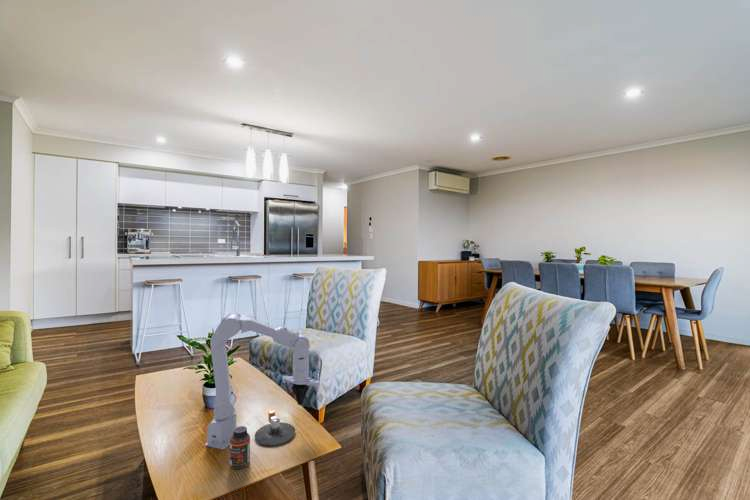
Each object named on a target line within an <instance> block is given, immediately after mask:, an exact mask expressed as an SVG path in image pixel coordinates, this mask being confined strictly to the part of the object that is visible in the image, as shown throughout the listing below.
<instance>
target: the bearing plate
mask: <svg viewBox="0 0 750 500" xmlns="http://www.w3.org/2000/svg"><path fill="white" fill-rule="evenodd" d="M295 435H296V429H295V427H294V426H293V425H292V424H291V423H288V422H280V432H279V433H277V434H272V433H271V423H268V424H265V425H262V426H261V427H260V428H258V429H257V430H256V431H255V433H254V440H255V443H257V444H258V445H260V446H263V447H276V446H277V447H278V446H281V445H284V444H287V443H288V442H290V441H291V440H293V438H294V437H295Z"/></svg>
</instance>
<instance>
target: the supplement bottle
mask: <svg viewBox="0 0 750 500" xmlns="http://www.w3.org/2000/svg"><path fill="white" fill-rule="evenodd" d="M250 461H251V435H250V433H248V427H247V426H244V425H239V426H236V428H235V429H234V431H233V436H232V437H231V439H230V445H229V466H230V468H231V469H233V470H241V469H245V468H246V467H247V466H249V464H250V463H251V462H250Z"/></svg>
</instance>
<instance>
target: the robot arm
mask: <svg viewBox="0 0 750 500" xmlns="http://www.w3.org/2000/svg"><path fill="white" fill-rule="evenodd" d="M240 331H241V332H240ZM248 332H253V333H257V334H260V335H263V336H267V337H270V338H272V340H273V342H274V343H275V344H279V345H281V346H284V347H287V348H288V349H289V348H290V349H291V348H292V349H293V356H292V375H291V376H290V375H285V376H283V377H282V379H281V381H282V382H281V383H282V384H286V383H287V384H293V385H292V386H291V390H292V391H293V394H294V395H295V398H296V399H295V400H296V401H297V402H296V403H297V405H298V406H302V405H303V404H305V400H306V399H305V398H306V394H307V392H308V391H309V388H310V387H314V388H316V389H318V388H319V387H320V386H321V385H320V384H321V383H320V382H321V381H320V380H317V379H314V378H312V377H309V374H310V370H309V369H310V364H309V363H310V360H309V359H310V355H309V351H310V350H309V349H310V347H311V344H310V341H309V338H308V336H307V335H306V334H304V332H303V333H302V332H298V331H296V332H295V331H293V330H290V329H288V327H287V326H279V327H272V326H270V325H269V324H267V323H263V322H261V321H259V320H257V319H254V318H252V317H249V316H247V315H244V314H240V313H237V312H231V313H229V314H227V315H226V316H225V317H223V319H222V320H221V321H220V323H219V324H218V325H217V328H215V330H214V333H213V334H212V336H211V338H210V341H209V343H210V353H211V354H210V355H211V362H212V369H213V377H214V384H215V385H214V386H215V404H214V408H213V418H212V421H211V422H209V423H208V425H207V427H206V428H207V429H206V442H205V444H204V445H205V447H206V446H207V447H210V448H214V449H220V450H226V449H227V448H228V447H230V439H231V437H232V436H233V431H234V429H235V428H237V410H236V409H235V405H236V404H235V403H236V401H237V395H236V393H235V392H234V391H233V386H232V385H231V377H230V368H229V359H228V352H227V344H226V343H228V341H229V340H230V339H231V338H232V337H234V336H237V335H238V333H241V334H243V333H248Z"/></svg>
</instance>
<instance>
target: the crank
mask: <svg viewBox="0 0 750 500" xmlns="http://www.w3.org/2000/svg"><path fill="white" fill-rule="evenodd" d="M267 413H268V415H267V417H268V418H267V419H268V422H269V423H268V424H271V433H272V434H277V433H279V432H280V421H281V418H279V417H276V412H275V409H273V410H272V409H270V410H268V412H267Z"/></svg>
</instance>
